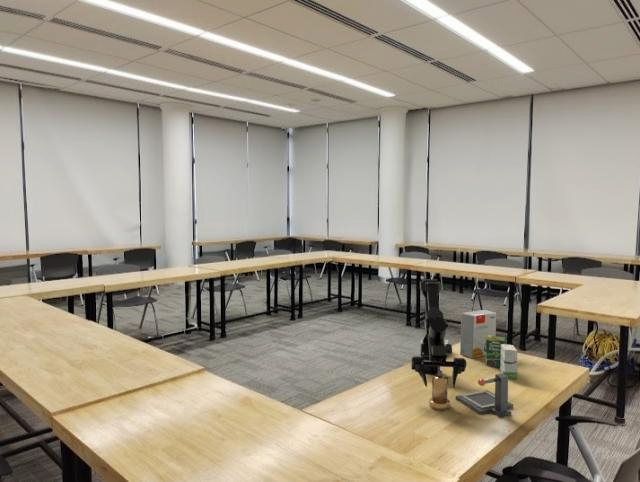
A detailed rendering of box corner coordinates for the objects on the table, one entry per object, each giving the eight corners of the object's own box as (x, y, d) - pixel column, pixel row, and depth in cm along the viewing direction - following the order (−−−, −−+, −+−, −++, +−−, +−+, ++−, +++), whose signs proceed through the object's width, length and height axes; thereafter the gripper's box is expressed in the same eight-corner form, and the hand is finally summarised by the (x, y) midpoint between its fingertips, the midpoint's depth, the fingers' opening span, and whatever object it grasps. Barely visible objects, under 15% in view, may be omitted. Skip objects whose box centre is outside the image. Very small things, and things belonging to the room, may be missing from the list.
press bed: (450, 400, 160) (450, 364, 159) (487, 393, 166) (487, 358, 165) (482, 421, 144) (483, 381, 143) (521, 412, 150) (522, 374, 149)
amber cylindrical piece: (426, 407, 154) (426, 372, 153) (433, 400, 160) (433, 366, 159) (445, 412, 150) (446, 376, 149) (452, 405, 156) (453, 370, 155)
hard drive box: (471, 359, 203) (472, 316, 202) (459, 354, 210) (460, 312, 209) (495, 353, 210) (496, 312, 209) (483, 349, 217) (483, 309, 216)
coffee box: (485, 365, 195) (485, 336, 194) (486, 363, 197) (486, 334, 196) (504, 368, 191) (505, 338, 190) (505, 366, 193) (506, 337, 192)
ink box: (517, 379, 179) (517, 350, 178) (504, 378, 180) (504, 349, 179) (512, 371, 187) (513, 344, 186) (499, 371, 188) (500, 343, 187)
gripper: (411, 334, 159) (413, 375, 149) (465, 336, 157) (471, 378, 147) (410, 349, 168) (412, 389, 158) (461, 351, 165) (466, 392, 155)
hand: (440, 387), depth 154 cm, fingers open, 9 cm apart
